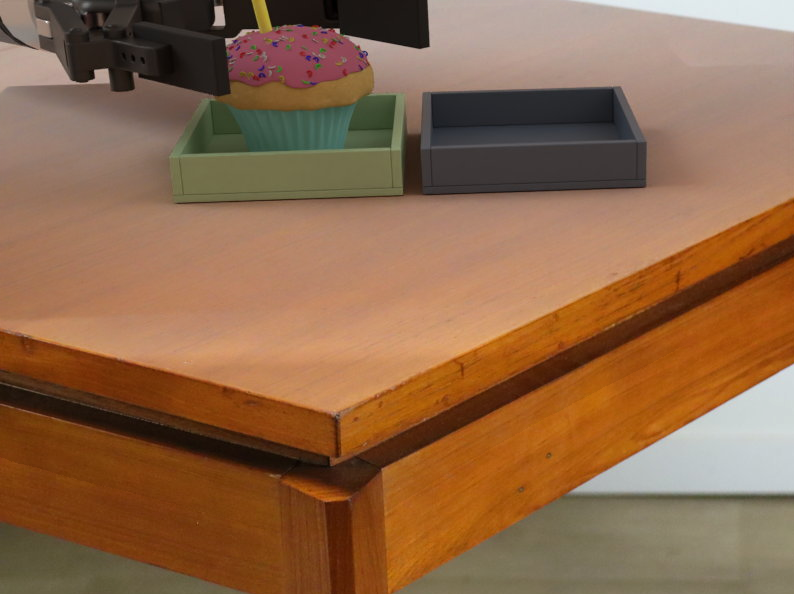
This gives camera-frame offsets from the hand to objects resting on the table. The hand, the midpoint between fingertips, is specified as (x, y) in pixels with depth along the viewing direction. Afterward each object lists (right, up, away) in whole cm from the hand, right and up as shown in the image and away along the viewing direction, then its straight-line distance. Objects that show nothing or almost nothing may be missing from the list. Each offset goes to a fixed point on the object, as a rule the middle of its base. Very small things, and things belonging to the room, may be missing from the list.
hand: (329, 44), depth 77 cm
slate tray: (+10, -5, +6) cm, 13 cm away
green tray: (-2, -6, +5) cm, 8 cm away
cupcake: (-2, -5, +5) cm, 8 cm away
